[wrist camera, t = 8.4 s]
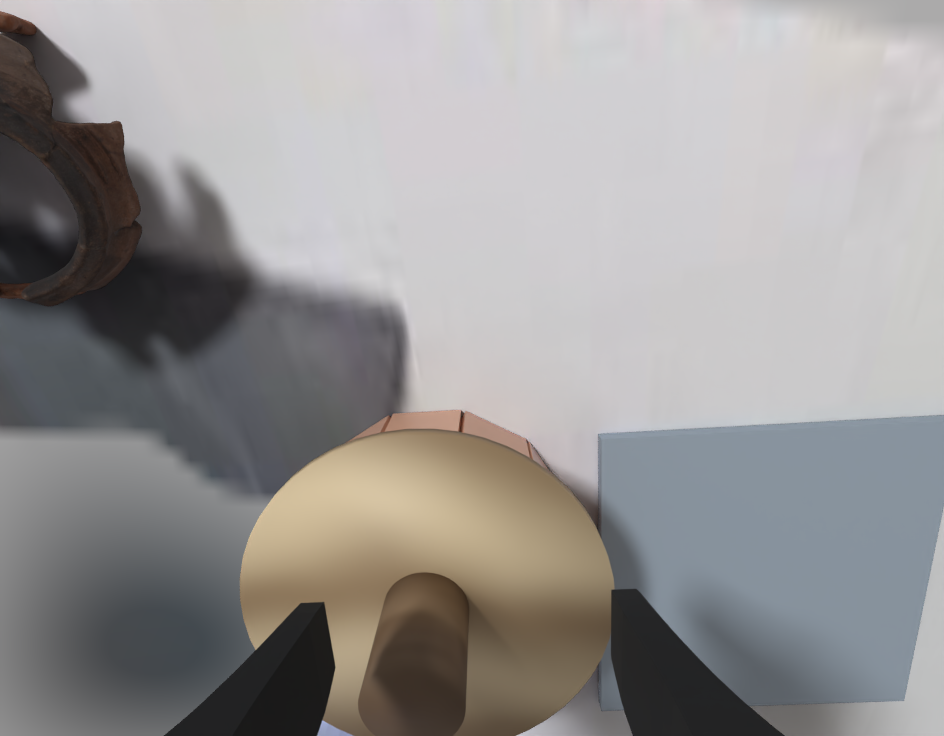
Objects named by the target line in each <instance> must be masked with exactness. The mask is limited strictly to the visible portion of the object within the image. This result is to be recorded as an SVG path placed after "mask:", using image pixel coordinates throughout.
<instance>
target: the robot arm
mask: <svg viewBox="0 0 944 736" xmlns="http://www.w3.org/2000/svg"><path fill="white" fill-rule="evenodd" d="M611 660H612V664H613V668H614V673H615V677H616V681H617V686H618V690H619V694H620V698H621V702H622V705H623V708H624V711H625V714H626V717H627V720H628V723H629V726H630V728H631V731H632V734H633V736H784V735H783V734H782V733H780V732H779V731H778V730H777V729H775V728H774V727H773V726H772V725H770V724H769V723H768V722H767V721H766V720H765V719H763V718H762V717H761V716H760V715H759V714H757V713H756V712H755V711H754V710H753V709H752V708H750V707H749V706H748V705H747V704H746V703H745V702H744V701H743V700H741V699H740V698H739V697H738V696H737V695H736V694H735V693H734V692H733V691H732V690H731V689H730V688H729V687H727V686H726V685H725V684H724V683H723V682H722V681H721V680H720V679H719V678H718V677H717V676H716V675H715V674H714V673H713V672H712V671H711V670H710V669H709V668H708V667H707V666H706V665H705V664H704V663H703V662H702V661H701V660H700V659H699V658H698V657H697V656H696V655H695V654H694V653H693V652H692V650H691V649H690V648H689V647H688V646H687V645H686V644H685V643H684V642H683V641H682V640H681V639H680V638H679V637H678V636H677V634H676V633H675V632H674V631H673V630H672V629H671V628H670V627H669V625H668V624H667V623H666V622H665V621H664V620H663V619H662V617H661V616H660V615H659V614H658V613H657V612H656V610H655V609H654V608H653V607H652V606H651V605H650V603H649V602H648V601H647V600H646V598H645V597H644V596H643V595H642V594H641V592H639V591H638V590H637V589H615V590H611ZM335 668H336V667H335V661H334V655H333V649H332V644H331V638H330V632H329V626H328V621H327V615H326V609H325V603H324V602H310V603H300V604H299V605H298V606H297V607H296V608H295V609H294V610H293V611H292V612H291V613H290V614H289V616H288V617H287V618H286V619H285V620H284V621H283V622H282V623H281V624H280V625H279V626H278V627H277V628H276V629H275V630H274V631H273V633H272V634H271V635H270V636H269V637H268V638H267V639H266V640H265V641H264V642H263V643H262V644H261V645H260V646H259V647H258V648H257V649H256V650H255V651H254V653H253V654H252V655H251V656H250V657H249V658H248V659H247V660H246V661H245V662H244V663H243V664H242V665H241V666H240V667H239V668H238V669H237V670H236V671H235V672H234V673H233V674H232V675H231V676H230V677H229V678H228V679H227V680H226V681H225V682H224V683H222V684H221V685H220V686H219V688H217V689H216V690H215V691H214V692H213V693H212V694H211V695H210V696H209V697H208V698H207V699H206V700H205V701H204V702H203V703H201V704H200V705H199V706H198V707H197V708H196V709H195V710H194V711H193V712H191V713H190V714H189V715H188V716H187V717H186V718H185V719H183V720H182V721H181V722H180V723H179V724H177V725H176V726H175V727H174V728H173V729H171V730H170V731H169V732H168V733H167V734H166V735H164V736H353V735H351V734H349V733H346V732H344V731H342V730H339V729H337V728H335V727H334V726H332V725H330V724H328V723H326V722H325V721H323V717H324V714H325V711H326V707H327V703H328V699H329V695H330V690H331V686H332V681H333V677H334V672H335Z"/></svg>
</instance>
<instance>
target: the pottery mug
mask: <svg viewBox="0 0 944 736" xmlns="http://www.w3.org/2000/svg"><path fill="white" fill-rule="evenodd" d="M0 32H11V33H19V34H25V35H34V34H35V33H36V27H35V25H34V24H32V23H31V22H29V21H26V20H23V19H21V18H18V17H16V16H14V15H11V14H8V13H4V12H1V11H0ZM52 106H53V98H52V95H51V93H50V91H49V87H48V85H47V83H46V82H45V80H44V79H43V77H42V76H41V75H40V73H39V72H38V71H37V69H36V66H35V62H34V57H33V55H32V53H31V52H30V50H28V49H27V48H26V47H25V46H23V45H21V44H19V43H18V42H16V41H14V40H12V39H11V38H9V37H7V36H5V35H2V34H0V132H1V133H2V134H4V135H6V136H7V137H9V138H10V139H12V140H14V141H16V142H17V143H19V144H20V145H21V146H23V147H24V148H25V149H27V150H29V151H30V152H32V153H33V154H35V155H36V156H37V157H38V158H39V159H40V161H41V162H42V163H43V164H44V165H45V166H46V167H47V168H48V169H49V170H50V171H51V172H52V173H53V175H54V176H55V178H56V180H57V181H58V182H59V183H60V185H61V186H62V187H63V189H64V190H65V191H66V193H67V195H68V196H69V198H70V200H71V202H72V204H73V206H74V209H75V211H76V213H77V218H78V222H79V242H78V244H77V247H76V251H75V253H74V255H73V257H72V259H71V260H70V262H69V263H68V264H67V265H66V266H65V267H64V268H62V269H60V270H59V271H58V272H56V273H55V274H53V275H51V276H49V277H46V278H44V279H41V280H38V281H36V282H34V283H23V284H5V283H0V298H8V299H15V298H21V299H25V300H27V301H30V302H33V303H37V304H41V305H44V306H54V305H58V304H60V303H62V302H64V301H66V300H68V299H70V298H72V297H73V296H75V295H78V294H83V293H85V292H86V291H88V290H97V289H100V288H102V287H104V286H106V285H107V284H108V283H109V282H111V281H112V280H113V279H114V278H115V277H116V276H117V275H118V274H119V273H120V272H121V271H122V270H123V268H124V267H125V266H126V265H127V264H128V262H129V260H130V259H131V257H132V255H133V254H134V251H135V249H136V246H137V244H138V241H139V239H140V236H141V233H142V227H141V225H140V224H139V223H138V222H137V221H135V219H136V217H137V216H138V215H139V214H140V211H141V208H140V204H139V200H138V196H137V193H136V191H135V189H134V187H133V185H132V182H131V179H130V177H129V174H128V171H127V167H126V162H125V155H124V149H123V148H124V134H123V129H122V124H121V123H120V122H119V121H114V122H112V123H66V122H59V121H55V120H54V119H53V118H52V116H51V113H52Z"/></svg>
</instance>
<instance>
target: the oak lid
mask: <svg viewBox="0 0 944 736" xmlns="http://www.w3.org/2000/svg"><path fill="white" fill-rule="evenodd" d="M611 590H615V588H614V577H613V573H612V569H611V565H610V561H609V557H608V554H607V552H606V549H605V547H604V544H603V542H602V540H601V537H600V535H599V532H598V530H597V528H596V526H595V524H594V522H593V521H592V519H591V517H590V516H589V514H588V512H587V511H586V509H585V507H584V506H583V505H582V504H581V502H580V501H579V500H578V499H577V498H576V496H575V495H574V494H573V493H572V492H571V490H570V489H569V488H568V487H567V486H566V485H565V484H563V483H562V482H561V481H560V480H559V479H558V478H557V477H556V476H555V475H554V474H553V473H551V472H550V471H549V470H547V469H546V468H544V467H543V466H541V465H540V464H539V463H537V462H536V461H534V460H533V459H531V458H530V457H528V456H526V455H524V454H522V453H520V452H518V451H516V450H514V449H512V448H510V447H508V446H506V445H503V444H500V443H498V442H495V441H492V440H490V439H487V438H484V437H480V436H476V435H472V434H467V433H463V432H459V431H450V430H441V429H402V430H394V431H386V432H380V433H376V434H372V435H369V436H365V437H361V438H357V439H355V440H352V441H350V442H347V443H345V444H342V445H340V446H337V447H335V448H333V449H331V450H329V451H328V452H326V453H324V454H322V455H321V456H319V457H317V458H315V459H314V460H312V461H311V462H310V463H308V464H307V465H306V466H304V467H303V468H302V469H301V470H299V471H298V472H297V473H295V474H294V475H293V476H292V477H291V478H290V479H289V480H288V481H287V482H286V483H285V485H284V486H283V487H282V488H281V489H280V490H279V491H278V492H277V493H276V495H275V496H274V497H273V498H272V500H271V501H270V503H269V504H268V505H267V507H266V508H265V510H264V511H263V512H262V514H261V515H260V517H259V518H258V520H257V522H256V524H255V526H254V529H253V531H252V533H251V534H250V536H249V540H248V543H247V546H246V549H245V552H244V555H243V560H242V567H241V575H240V600H241V606H242V612H243V618H244V622H245V625H246V628H247V631H248V634H249V637H250V640H251V642H252V644H253V646H254V648H255V650H256V649H257V648H258V647H259V646H260V645H261V644H262V643H263V642H264V641H265V640H266V639H267V638H268V637H269V636H270V635H271V634H272V633H273V631H274V630H275V629H276V628H277V627H278V626H279V625H280V624H281V623H282V622H283V621H284V620H285V619H286V618H287V617H288V616H289V614H290V613H291V612H292V611H293V610H294V609H295V608H296V607H297V606H298V605H299V604H300V603H310V602H324V603H325V609H326V615H327V621H328V626H329V632H330V638H331V644H332V649H333V655H334V661H335V667H336V668H335V672H334V677H333V681H332V686H331V690H330V695H329V699H328V703H327V707H326V711H325V714H324V717H323V721H325V722H326V723H328V724H330V725H332V726H334V727H335V728H337V729H339V730H342V731H344V732H346V733H349V734H351V735H353V736H516V735H518V734H520V733H523V732H525V731H527V730H529V729H531V728H533V727H535V726H536V725H538V724H540V723H542V722H543V721H545V720H547V719H548V718H550V717H551V716H552V715H554V714H555V713H556V712H558V711H559V710H560V709H562V708H563V707H564V706H565V705H566V704H567V703H568V702H569V701H570V700H571V699H572V698H573V697H574V696H575V695H576V694H578V693H579V691H580V690H581V689H582V688H583V686H584V685H585V684H586V682H587V681H588V680H589V679H590V677H591V676H592V674H593V673H594V671H595V669H596V668H597V666H598V664H599V662H600V661H601V659H602V657H603V654H604V652H605V649H606V647H607V644H608V642H609V639H610V634H611Z"/></svg>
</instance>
